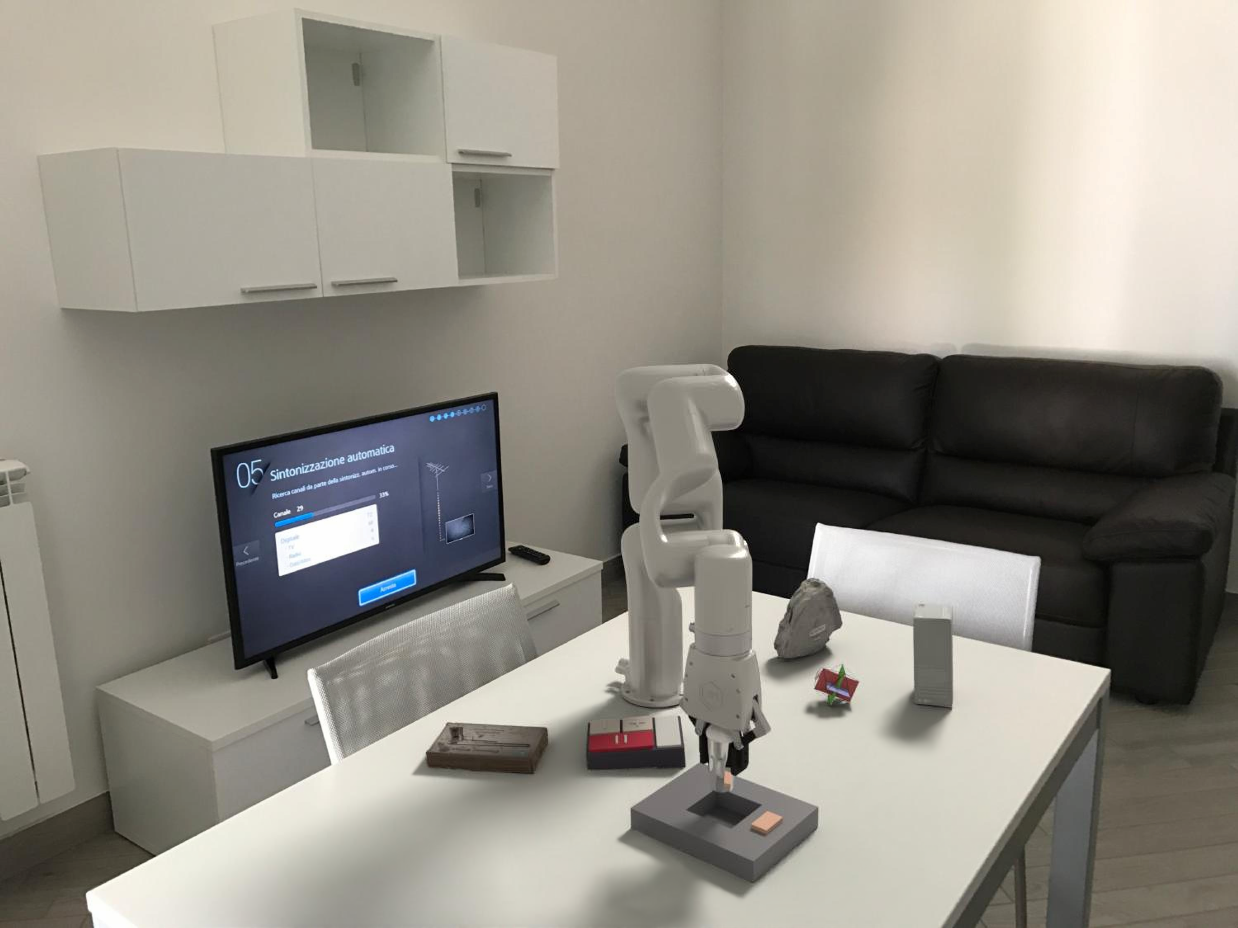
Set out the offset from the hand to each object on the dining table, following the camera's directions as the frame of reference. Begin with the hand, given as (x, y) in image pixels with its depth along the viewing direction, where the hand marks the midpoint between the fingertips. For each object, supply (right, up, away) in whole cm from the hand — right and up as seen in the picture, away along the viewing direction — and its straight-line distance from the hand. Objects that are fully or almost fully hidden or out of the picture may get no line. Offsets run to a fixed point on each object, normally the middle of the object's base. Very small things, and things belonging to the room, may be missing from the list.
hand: (723, 764), depth 139 cm
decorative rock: (+22, +4, +60) cm, 65 cm away
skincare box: (+40, 0, +40) cm, 57 cm away
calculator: (-12, -5, +24) cm, 27 cm away
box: (-35, -6, +24) cm, 43 cm away
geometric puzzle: (+24, -1, +39) cm, 45 cm away
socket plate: (0, -9, +2) cm, 9 cm away
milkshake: (0, -3, +1) cm, 4 cm away
